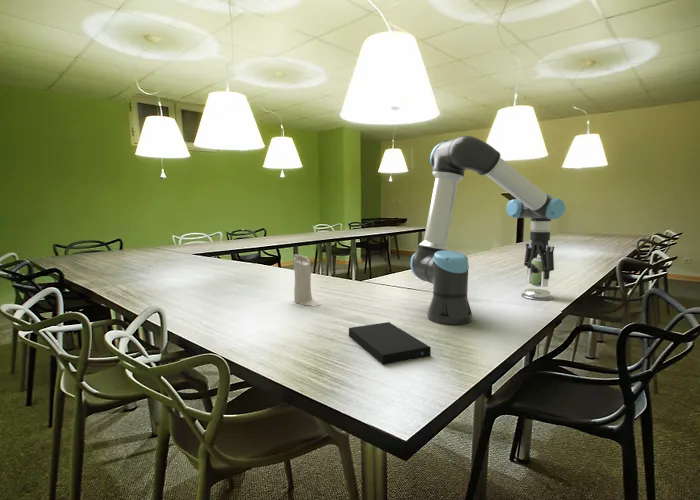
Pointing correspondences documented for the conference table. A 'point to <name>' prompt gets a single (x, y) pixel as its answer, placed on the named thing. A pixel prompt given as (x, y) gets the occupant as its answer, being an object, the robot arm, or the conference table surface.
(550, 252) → the robot arm
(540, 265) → the beverage can
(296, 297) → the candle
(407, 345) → the external hard drive
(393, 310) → the conference table surface
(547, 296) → the bowl
